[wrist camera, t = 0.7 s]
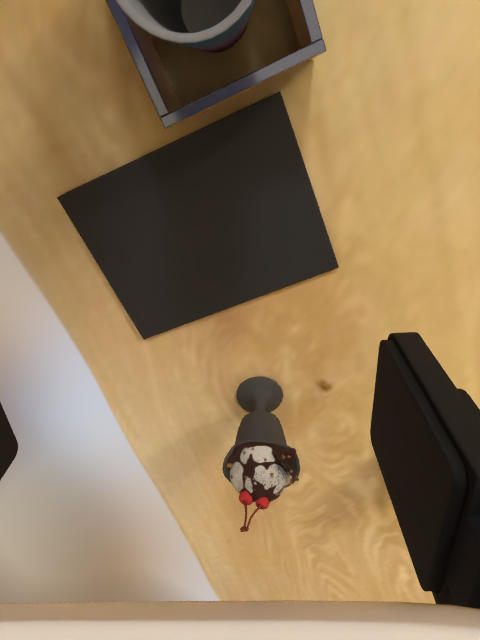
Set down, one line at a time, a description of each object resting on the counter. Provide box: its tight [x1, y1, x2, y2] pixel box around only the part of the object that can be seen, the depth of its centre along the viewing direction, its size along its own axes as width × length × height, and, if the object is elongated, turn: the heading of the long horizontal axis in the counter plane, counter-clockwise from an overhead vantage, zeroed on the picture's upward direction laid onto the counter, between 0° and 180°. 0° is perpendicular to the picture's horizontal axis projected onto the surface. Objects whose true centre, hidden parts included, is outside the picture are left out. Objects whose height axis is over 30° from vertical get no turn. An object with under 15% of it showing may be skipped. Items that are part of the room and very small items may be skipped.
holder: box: [106, 0, 326, 128], centre depth 27 cm, size 11×11×6 cm
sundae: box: [223, 377, 300, 532], centre depth 38 cm, size 7×7×15 cm
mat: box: [57, 92, 338, 339], centre depth 36 cm, size 15×20×1 cm
